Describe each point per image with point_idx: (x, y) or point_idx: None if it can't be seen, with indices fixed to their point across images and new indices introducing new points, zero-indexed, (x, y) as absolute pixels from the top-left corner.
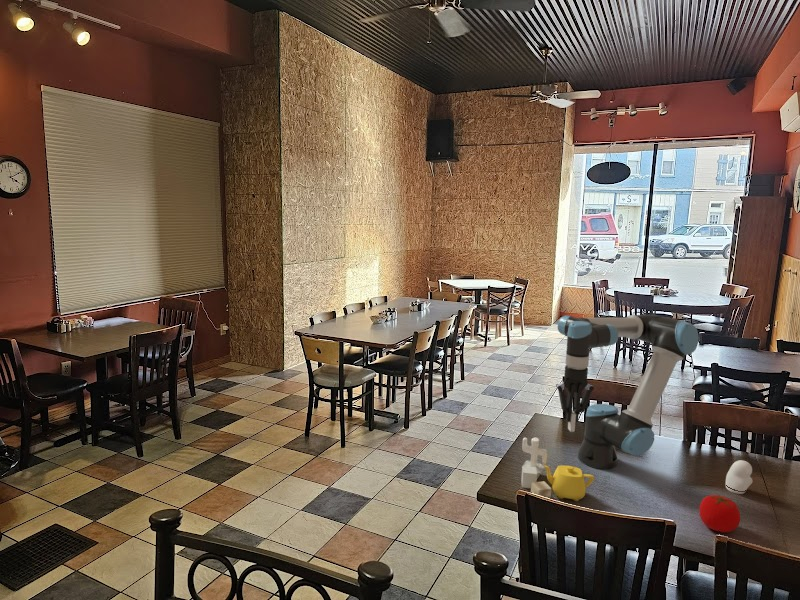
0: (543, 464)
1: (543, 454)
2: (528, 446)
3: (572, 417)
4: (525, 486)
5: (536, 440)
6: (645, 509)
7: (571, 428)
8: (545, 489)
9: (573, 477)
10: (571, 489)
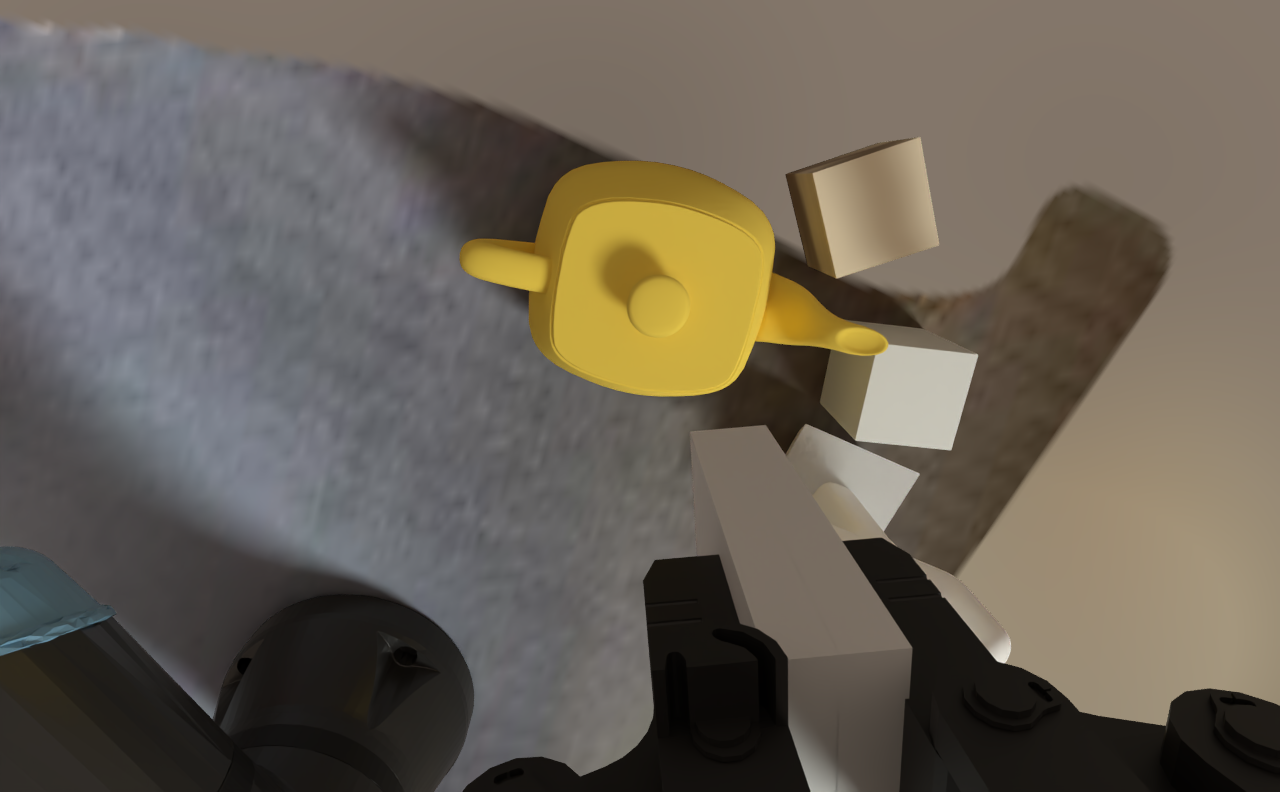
0: None
1: None
2: None
3: (841, 583)
4: (906, 327)
5: None
6: (150, 129)
7: (764, 449)
8: (861, 157)
9: (652, 198)
10: (663, 165)
